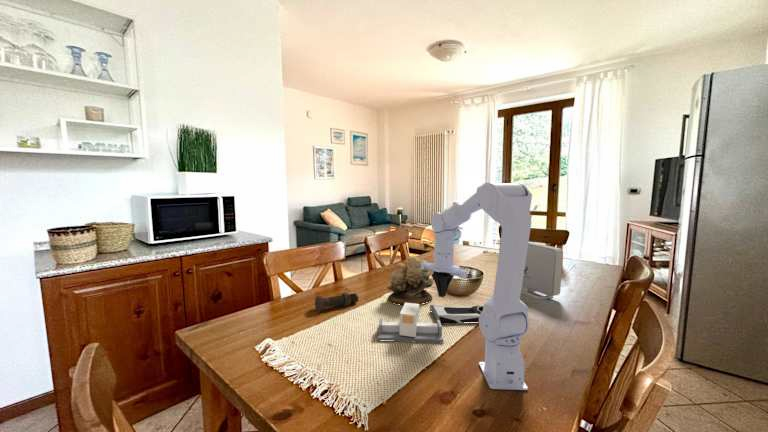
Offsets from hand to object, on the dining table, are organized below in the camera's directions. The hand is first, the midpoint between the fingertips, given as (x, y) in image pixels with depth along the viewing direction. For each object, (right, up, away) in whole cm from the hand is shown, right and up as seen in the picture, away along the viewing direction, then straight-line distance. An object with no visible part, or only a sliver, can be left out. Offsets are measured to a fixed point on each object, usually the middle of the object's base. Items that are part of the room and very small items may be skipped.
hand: (442, 296), depth 95 cm
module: (-10, -8, -5) cm, 14 cm away
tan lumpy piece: (-7, -7, +22) cm, 24 cm away
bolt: (-34, -8, +14) cm, 38 cm away
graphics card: (+11, -10, +7) cm, 16 cm away
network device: (+42, -7, +34) cm, 54 cm away
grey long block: (-10, -10, -5) cm, 15 cm away
